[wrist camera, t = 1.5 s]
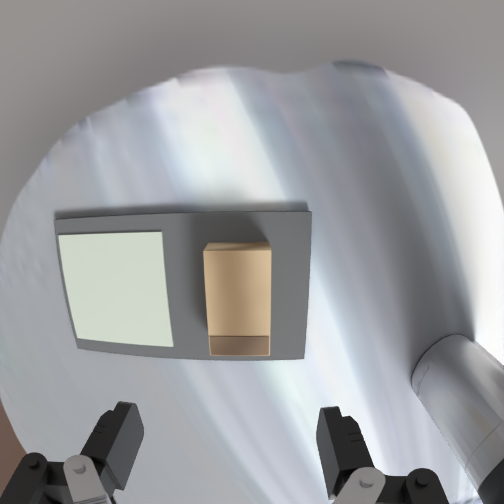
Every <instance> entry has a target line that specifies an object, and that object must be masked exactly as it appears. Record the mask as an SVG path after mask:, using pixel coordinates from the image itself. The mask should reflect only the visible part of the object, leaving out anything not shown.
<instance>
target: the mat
mask: <svg viewBox="0 0 504 504" xmlns="http://www.w3.org/2000/svg"><path fill="white" fill-rule="evenodd" d="M311 221H312V212H311V211H237V212H189V213H159V214H136V215H116V216H98V217H82V218H68V219H56V220H54V224H55V234H56V242H57V250H58V257H59V264H60V270H61V276H62V282H63V287H64V293H65V298H66V302H67V307H68V312H69V316H70V320H71V324H72V328H73V332H74V336H75V340H76V344H77V347H78V349H84V350H91V351H99V352H107V353H115V354H125V355H135V356H146V357H159V358H174V359H193V360H228V361H261V360H296V359H304V354H305V341H306V328H307V313H308V297H309V278H310V255H311ZM219 242H269V243H270V247H271V326H270V356H215V355H210V347H209V335H208V322H207V307H206V292H205V275H204V255H203V251H204V249H205V248H206V246H207V245H208V243H219Z"/></svg>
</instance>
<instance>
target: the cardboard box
mask: <svg viewBox="0 0 504 504" xmlns="http://www.w3.org/2000/svg"><path fill="white" fill-rule="evenodd" d="M203 255H204V275H205V292H206V307H207V322H208V335H209V347H210V355H215V356H270V326H271V247H270V243H269V242H219V243H208V245H207V246H206V248H205V249H204V251H203Z"/></svg>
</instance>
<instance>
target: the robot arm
mask: <svg viewBox="0 0 504 504" xmlns="http://www.w3.org/2000/svg"><path fill="white" fill-rule="evenodd" d="M412 388H413V391H414V392H415V394H416V395H417V397H418V398H419V400H420V401H421V403H422V404H423V406H424V407H425V409H426V410H427V412H428V413H429V415H430V416H431V418H432V420H433V421H434V423H435V424H436V426H437V427H438V429H439V430H440V432H441V434H442V435H443V437H444V438H445V440H446V441H447V443H448V445H449V446H450V448H451V449H452V451H453V453H454V454H455V456H456V458H457V459H458V461H459V462H460V464H461V466H462V467H463V469H464V471H465V472H466V474H467V476H468V477H469V479H470V481H471V482H472V484H473V486H474V488H475V489H476V491H477V493H478V494H479V496H480V498H481V500H482V502H483V504H504V366H503V365H502V364H501V363H500V362H499V361H498V360H497V359H496V358H494V357H493V356H492V355H491V354H490V353H489V352H488V351H487V350H485V349H484V348H483V347H482V346H481V345H480V344H478V343H477V342H476V341H470V340H469V339H468V338H466V337H465V336H463V335H451V336H448V337H446V338H443V339H442V340H440V341H438V342H437V343H436V344H434V345H433V346H432V347H431V348H430V349H429V350H428V351H427V352H426V353H425V354H424V355H423V356H422V358H421V359H420V360H419V362H418V364H417V366H416V368H415V370H414V373H413V376H412ZM143 436H144V427H143V423H142V420H141V417H140V414H139V411H138V408H137V405H136V404H135V403H129V402H122V401H119V402H118V403H117V405H116V407H115V409H114V411H111V410H108V411H107V412H106V413H104V414H103V415H102V416H101V417H100V419H99V420H98V422H97V425H96V426H95V428H94V429H93V432H92V433H91V435H90V437H89V438H88V440H87V442H86V444H85V446H84V447H83V449H82V451H81V453H80V454H79V455H74V456H71V457H70V458H68V459H67V460H66V461H65V462H49V461H47V459H46V458H45V457H44V456H43V455H42V454H40V453H29V454H27V455H25V456H24V457H23V458H22V460H21V462H20V463H19V465H18V467H17V468H16V470H15V472H14V474H13V475H12V478H11V479H10V481H9V483H8V485H7V486H6V488H5V490H4V492H3V494H2V496H1V498H0V504H118V503H117V501H116V499H115V497H114V495H113V493H114V490H115V489H119V490H123V491H124V489H125V486H126V483H127V480H128V477H129V475H130V472H131V469H132V467H133V464H134V461H135V458H136V456H137V453H138V450H139V448H140V445H141V442H142V440H143ZM316 440H317V446H318V451H319V455H320V460H321V465H322V469H323V474H324V479H325V483H326V488H327V493H328V498H329V500H332V499H335V500H334V502H333V503H332V504H449V502H448V500H447V497H446V495H445V492H444V490H443V488H442V485H441V483H440V481H439V478H438V476H437V475H436V473H435V472H433V471H432V470H430V469H426V468H419V469H416V470H413V471H412V472H410V473H409V474H408V476H388V475H385V474H383V473H382V472H381V471H380V470H378V469H376V468H375V467H374V465H373V462H372V459H371V457H370V454H369V451H368V449H367V446H366V443H365V441H364V438H363V435H362V434H361V430H360V428H359V425H358V423H357V422H356V421H355V420H354V419H353V418H352V417H351V416H345V417H342V415H341V412H340V409H339V407H338V406H334V407H324V408H321V409H320V413H319V419H318V425H317V431H316Z"/></svg>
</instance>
